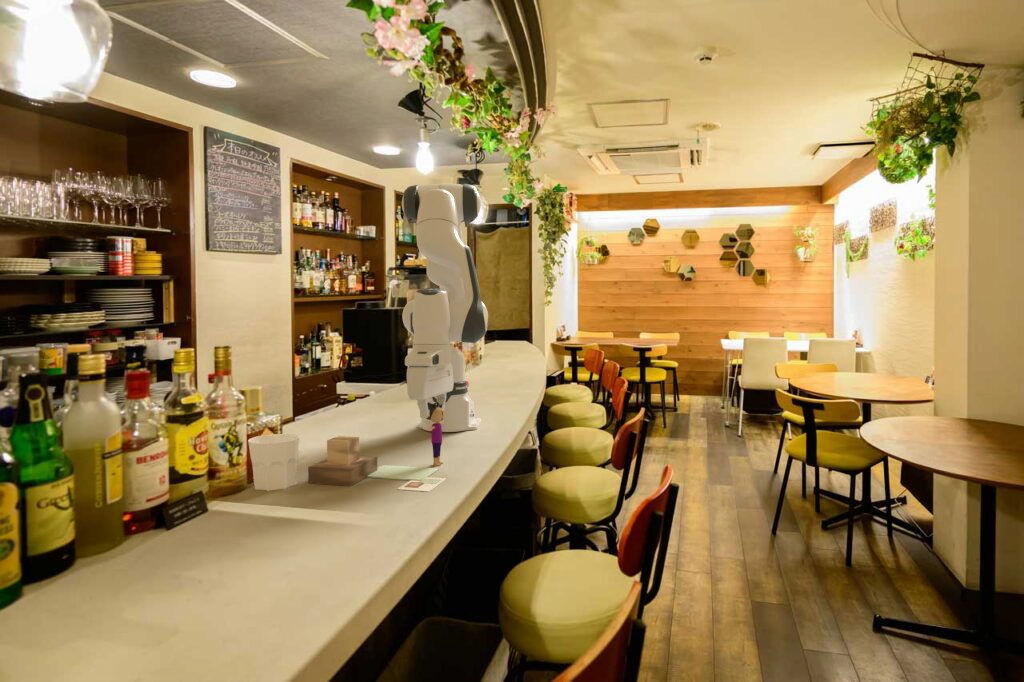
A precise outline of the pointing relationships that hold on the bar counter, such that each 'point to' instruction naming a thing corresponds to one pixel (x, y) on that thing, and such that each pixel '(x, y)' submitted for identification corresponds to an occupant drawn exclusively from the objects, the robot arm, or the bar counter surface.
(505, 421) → the bar counter surface
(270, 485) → the cup
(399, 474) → the sage mat
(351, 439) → the oak cube
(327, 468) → the base brick
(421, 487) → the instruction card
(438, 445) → the toy
